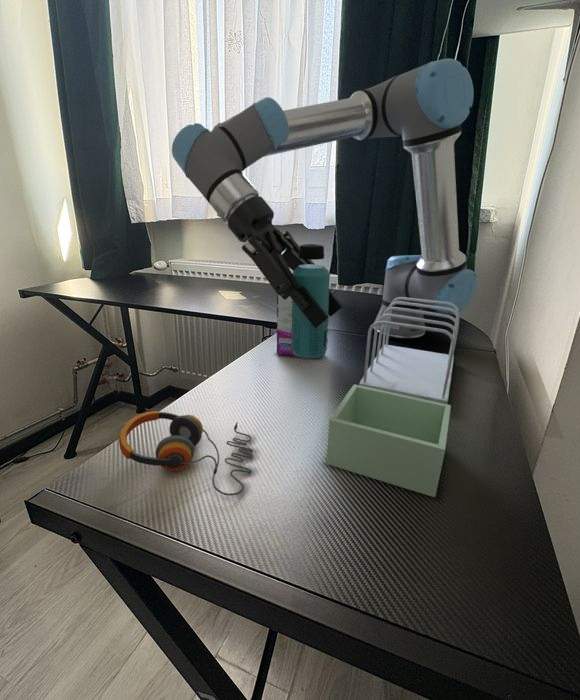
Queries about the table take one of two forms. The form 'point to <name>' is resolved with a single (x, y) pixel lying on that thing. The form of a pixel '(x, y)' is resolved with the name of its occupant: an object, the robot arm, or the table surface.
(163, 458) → the headphones
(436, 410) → the basket
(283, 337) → the candy bar box
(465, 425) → the table surface
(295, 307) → the beverage bottle
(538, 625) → the table surface
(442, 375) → the file sorter
